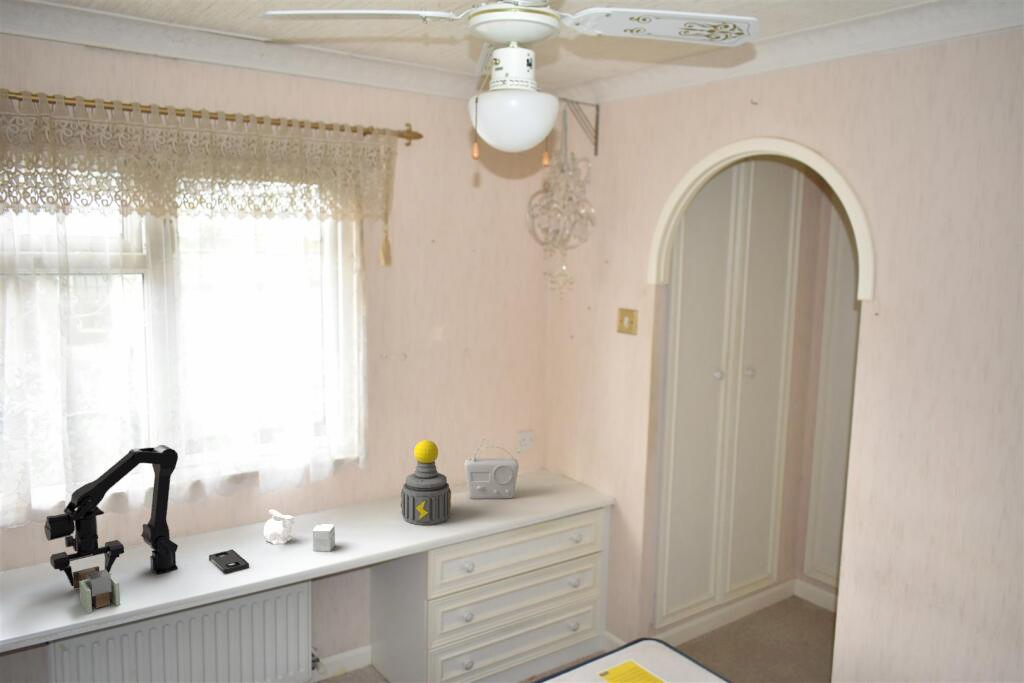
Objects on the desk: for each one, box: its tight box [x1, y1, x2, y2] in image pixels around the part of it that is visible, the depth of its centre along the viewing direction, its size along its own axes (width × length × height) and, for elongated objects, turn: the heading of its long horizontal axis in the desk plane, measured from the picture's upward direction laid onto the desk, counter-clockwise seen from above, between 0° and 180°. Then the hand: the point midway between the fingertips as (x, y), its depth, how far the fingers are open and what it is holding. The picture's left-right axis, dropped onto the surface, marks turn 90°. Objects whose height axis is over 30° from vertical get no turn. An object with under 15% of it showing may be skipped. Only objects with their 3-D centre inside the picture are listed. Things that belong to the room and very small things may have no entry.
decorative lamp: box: [400, 439, 452, 526], centre depth 298 cm, size 19×19×30 cm
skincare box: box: [312, 523, 336, 552], centre depth 269 cm, size 6×6×7 cm
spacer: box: [87, 568, 112, 597], centre depth 227 cm, size 5×5×5 cm
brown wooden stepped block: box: [72, 565, 111, 609], centre depth 231 cm, size 18×7×5 cm, turn 42°
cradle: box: [78, 572, 121, 614], centre depth 228 cm, size 8×11×7 cm
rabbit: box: [263, 509, 296, 545], centre depth 274 cm, size 12×9×12 cm
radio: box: [464, 438, 520, 500], centre depth 323 cm, size 22×8×25 cm, turn 95°
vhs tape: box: [208, 549, 250, 575], centre depth 256 cm, size 14×8×2 cm, turn 40°
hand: (89, 581), depth 236 cm, fingers open, 9 cm apart
